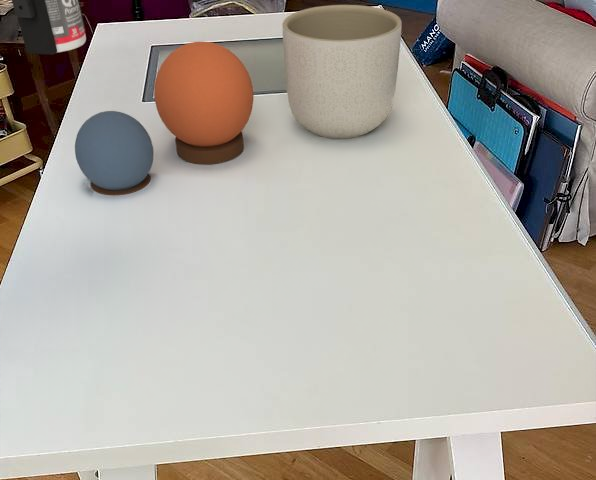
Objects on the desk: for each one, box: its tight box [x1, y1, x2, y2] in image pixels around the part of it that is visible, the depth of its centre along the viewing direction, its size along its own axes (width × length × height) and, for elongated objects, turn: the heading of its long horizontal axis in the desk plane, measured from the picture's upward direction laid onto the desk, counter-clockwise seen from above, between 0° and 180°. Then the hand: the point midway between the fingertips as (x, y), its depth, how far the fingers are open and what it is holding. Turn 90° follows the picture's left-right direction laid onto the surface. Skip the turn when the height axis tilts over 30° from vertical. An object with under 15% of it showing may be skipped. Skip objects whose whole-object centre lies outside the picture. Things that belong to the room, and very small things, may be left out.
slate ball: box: [74, 110, 154, 197], centre depth 95 cm, size 10×10×11 cm
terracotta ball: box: [153, 40, 254, 165], centre depth 103 cm, size 14×14×15 cm
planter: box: [282, 4, 403, 139], centre depth 108 cm, size 17×17×15 cm
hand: (57, 41), depth 69 cm, fingers closed on pill bottle, 5 cm apart
